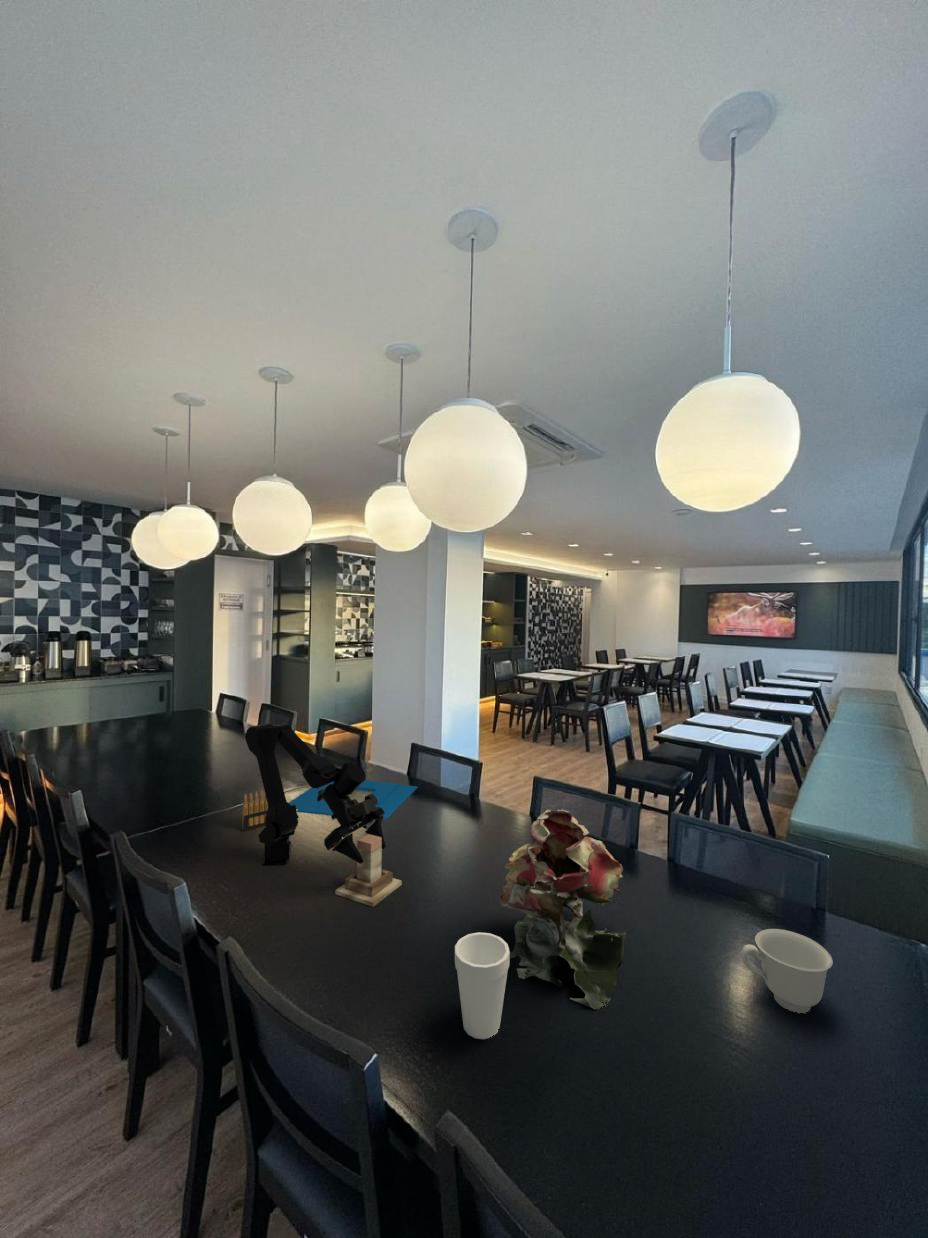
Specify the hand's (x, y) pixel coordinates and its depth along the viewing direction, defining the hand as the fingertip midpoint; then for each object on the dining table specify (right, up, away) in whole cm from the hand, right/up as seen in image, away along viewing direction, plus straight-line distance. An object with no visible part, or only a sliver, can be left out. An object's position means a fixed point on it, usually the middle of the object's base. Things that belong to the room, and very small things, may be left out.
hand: (373, 855), depth 132 cm
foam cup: (+26, -10, -43) cm, 51 cm away
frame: (-20, -10, +68) cm, 71 cm away
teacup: (+82, -10, -37) cm, 91 cm away
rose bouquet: (+43, -10, -23) cm, 50 cm away
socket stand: (-1, -9, +1) cm, 9 cm away
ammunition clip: (-45, -9, +40) cm, 61 cm away
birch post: (-1, -8, +1) cm, 8 cm away
